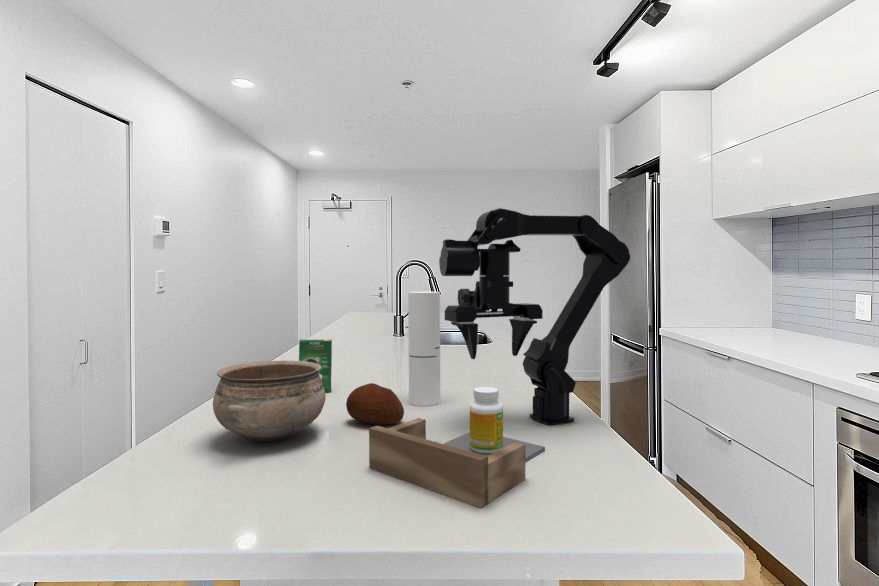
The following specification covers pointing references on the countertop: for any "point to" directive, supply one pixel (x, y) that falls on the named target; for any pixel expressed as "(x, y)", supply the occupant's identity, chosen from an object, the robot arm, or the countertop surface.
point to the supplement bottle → (486, 421)
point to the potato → (374, 405)
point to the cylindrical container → (424, 348)
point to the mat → (531, 449)
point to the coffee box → (318, 358)
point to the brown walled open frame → (445, 463)
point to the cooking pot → (269, 399)
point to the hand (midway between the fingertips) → (494, 357)
